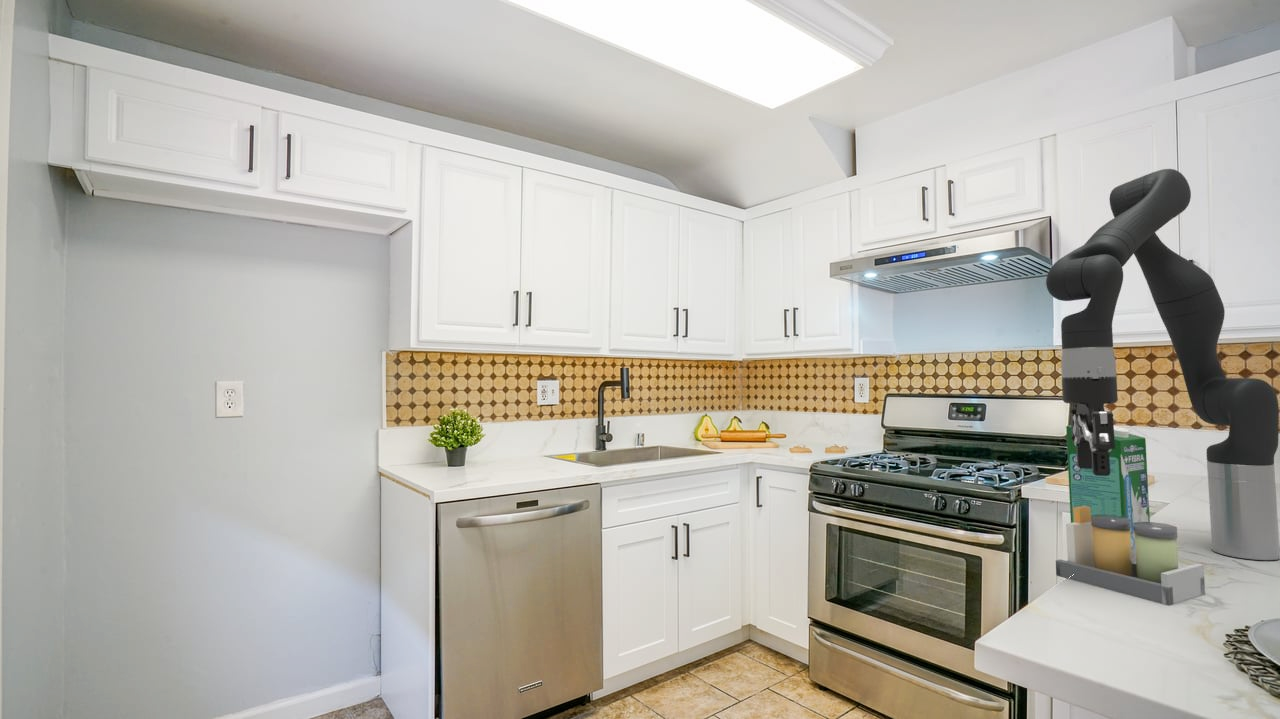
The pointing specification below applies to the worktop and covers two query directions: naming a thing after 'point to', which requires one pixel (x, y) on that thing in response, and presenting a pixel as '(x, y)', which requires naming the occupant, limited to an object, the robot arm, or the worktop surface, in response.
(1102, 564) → the amber jar
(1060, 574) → the grey tray
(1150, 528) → the green jar
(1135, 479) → the milk carton
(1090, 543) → the block
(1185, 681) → the worktop surface
